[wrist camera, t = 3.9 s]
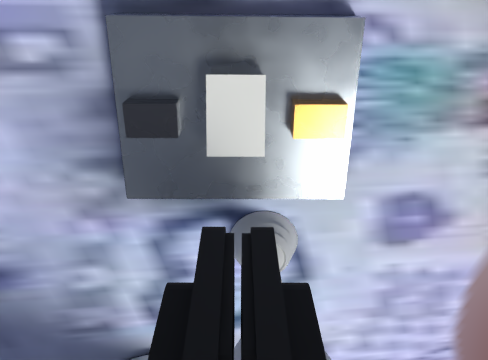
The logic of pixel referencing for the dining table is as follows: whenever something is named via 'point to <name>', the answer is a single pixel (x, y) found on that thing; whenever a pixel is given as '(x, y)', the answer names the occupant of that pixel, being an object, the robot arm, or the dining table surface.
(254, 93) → the block
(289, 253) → the chalice
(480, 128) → the dining table surface
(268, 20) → the panel
